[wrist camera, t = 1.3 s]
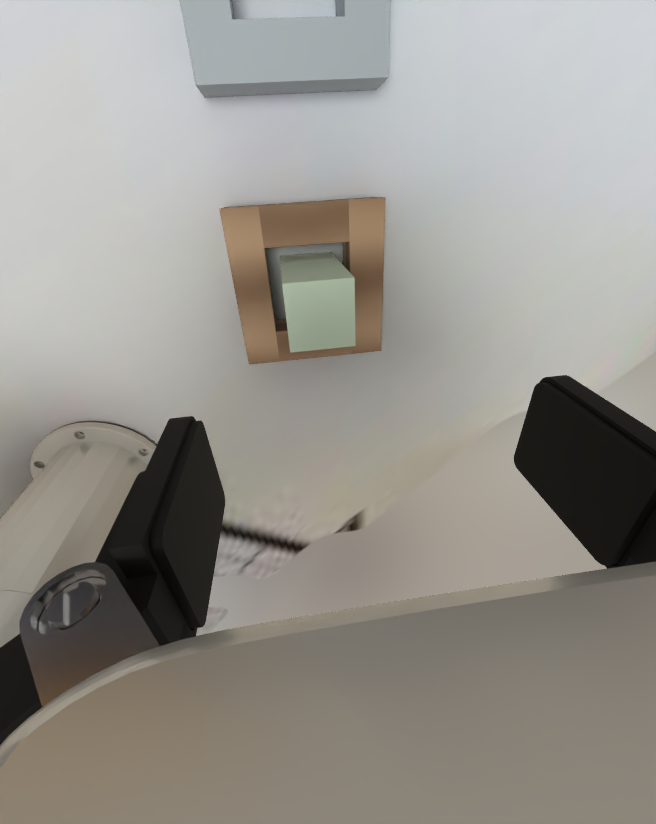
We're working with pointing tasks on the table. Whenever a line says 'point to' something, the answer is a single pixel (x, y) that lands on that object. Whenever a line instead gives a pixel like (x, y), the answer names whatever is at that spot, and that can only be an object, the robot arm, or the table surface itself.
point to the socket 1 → (287, 49)
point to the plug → (318, 302)
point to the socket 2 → (305, 225)
